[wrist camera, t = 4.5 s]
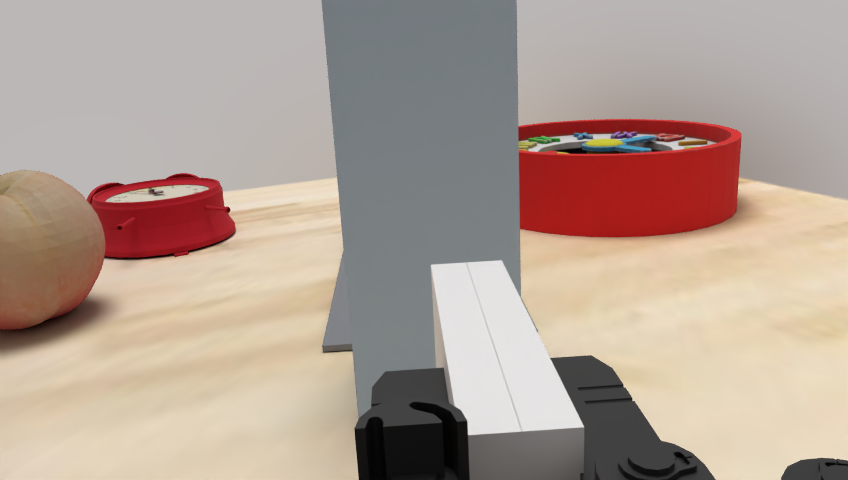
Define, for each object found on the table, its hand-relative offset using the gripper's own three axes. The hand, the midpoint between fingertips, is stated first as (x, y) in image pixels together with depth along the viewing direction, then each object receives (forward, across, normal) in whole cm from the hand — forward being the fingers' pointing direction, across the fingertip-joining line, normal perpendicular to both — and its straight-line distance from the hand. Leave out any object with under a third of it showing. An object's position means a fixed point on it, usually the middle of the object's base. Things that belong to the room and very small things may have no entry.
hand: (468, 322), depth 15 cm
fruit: (+23, -22, -8) cm, 32 cm away
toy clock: (+41, +15, -8) cm, 45 cm away
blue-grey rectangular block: (+12, 0, -8) cm, 14 cm away
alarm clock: (+40, -20, -8) cm, 45 cm away
